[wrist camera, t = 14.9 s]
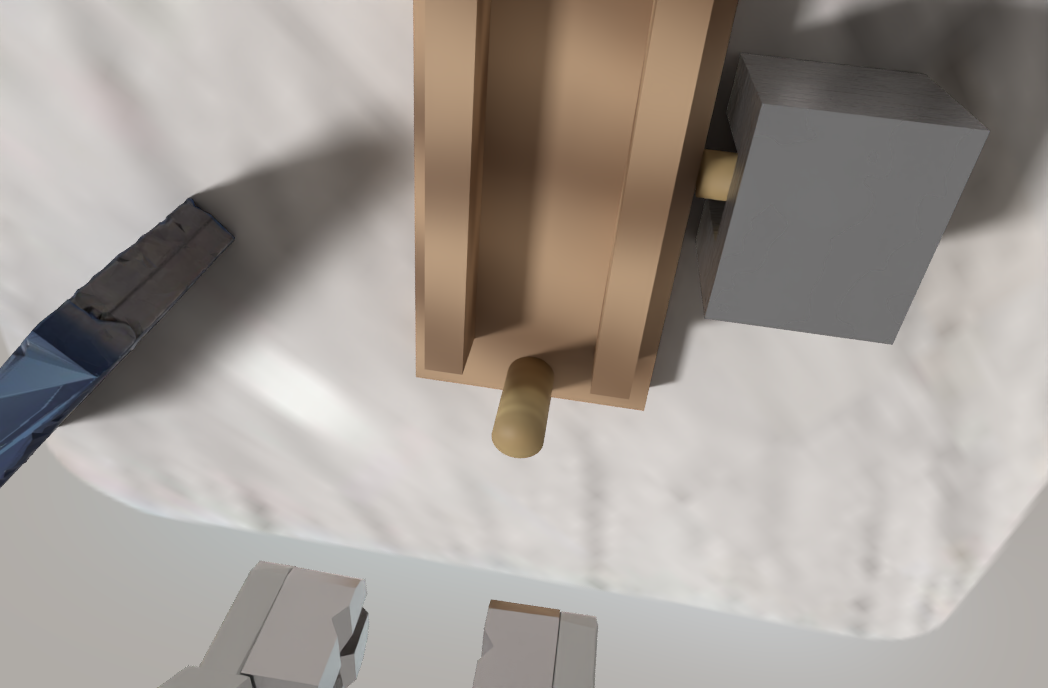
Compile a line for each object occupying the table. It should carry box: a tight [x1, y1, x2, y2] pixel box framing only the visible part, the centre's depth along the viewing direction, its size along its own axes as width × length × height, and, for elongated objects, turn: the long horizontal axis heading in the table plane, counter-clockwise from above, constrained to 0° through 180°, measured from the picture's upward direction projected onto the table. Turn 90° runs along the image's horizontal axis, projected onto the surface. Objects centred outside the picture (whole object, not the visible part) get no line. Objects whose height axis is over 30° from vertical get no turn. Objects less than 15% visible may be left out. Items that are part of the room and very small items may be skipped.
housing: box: [695, 53, 990, 344], centre depth 24 cm, size 7×6×6 cm
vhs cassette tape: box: [0, 198, 235, 488], centre depth 31 cm, size 18×3×10 cm, turn 132°
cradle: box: [413, 0, 738, 458], centre depth 24 cm, size 22×15×6 cm
